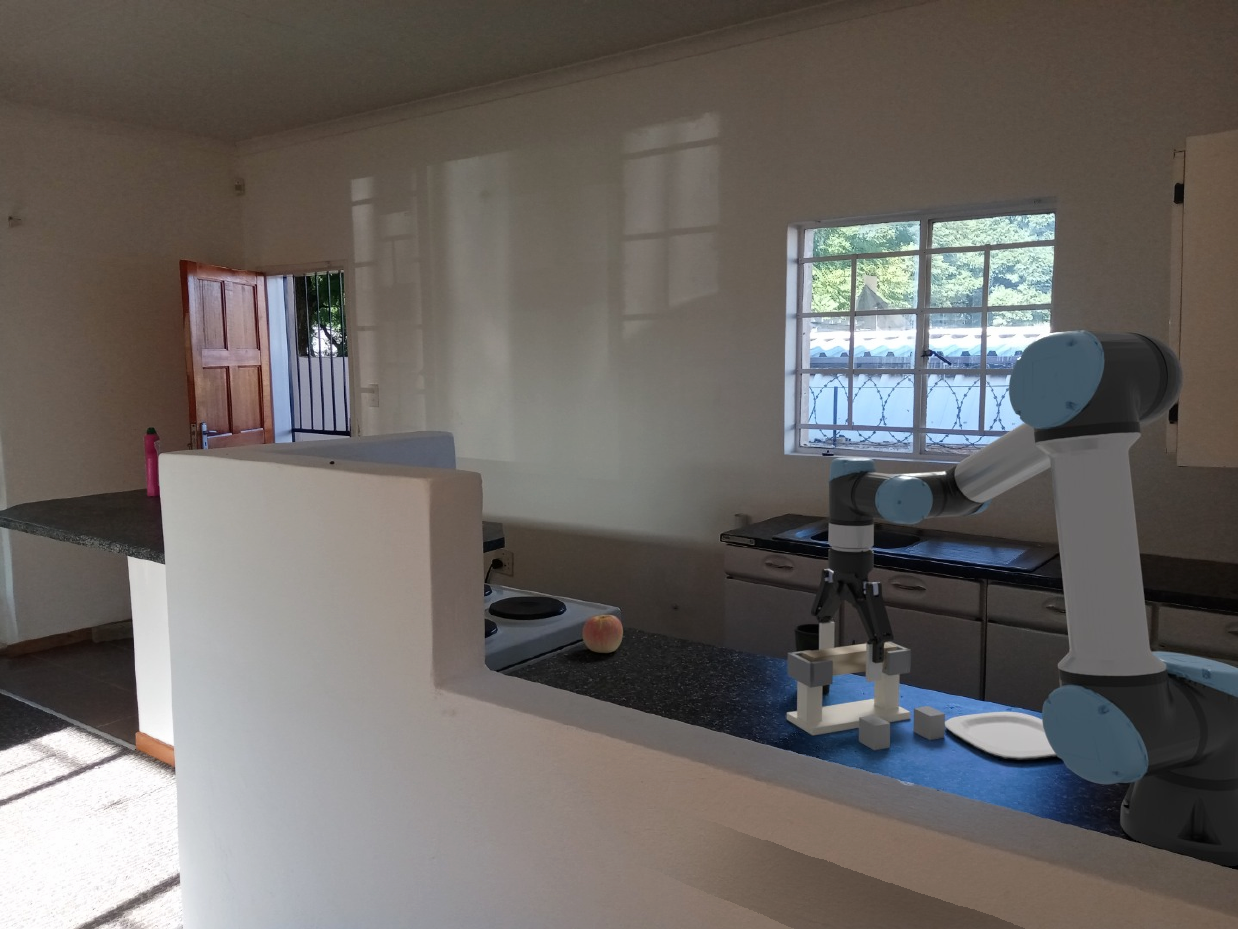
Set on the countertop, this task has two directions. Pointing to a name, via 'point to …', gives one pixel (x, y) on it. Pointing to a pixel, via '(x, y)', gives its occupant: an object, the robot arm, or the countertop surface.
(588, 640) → the apple
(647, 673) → the countertop surface
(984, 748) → the plate
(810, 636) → the cup
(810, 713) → the bracket stand
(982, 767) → the countertop surface
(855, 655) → the rail
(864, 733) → the rests
